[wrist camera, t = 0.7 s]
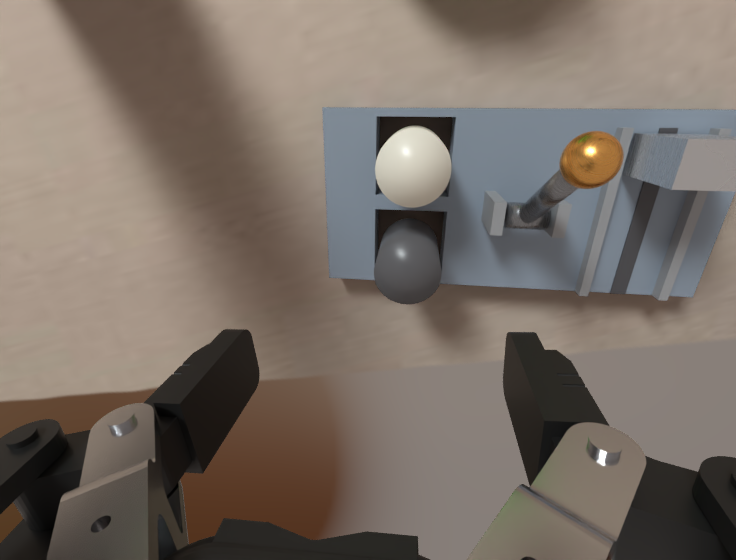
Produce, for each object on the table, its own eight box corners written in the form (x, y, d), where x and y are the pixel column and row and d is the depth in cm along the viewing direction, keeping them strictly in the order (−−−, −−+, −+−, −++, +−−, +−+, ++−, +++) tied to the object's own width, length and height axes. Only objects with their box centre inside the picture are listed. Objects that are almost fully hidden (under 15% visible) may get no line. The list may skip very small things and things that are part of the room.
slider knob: (633, 133, 23) (688, 139, 18) (706, 133, 22) (781, 140, 18) (622, 174, 24) (671, 189, 19) (691, 175, 23) (758, 192, 19)
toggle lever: (502, 201, 24) (571, 119, 14) (541, 203, 24) (639, 120, 14) (501, 235, 24) (570, 176, 14) (540, 237, 24) (639, 178, 14)
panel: (330, 107, 26) (308, 107, 21) (735, 110, 24) (829, 110, 18) (335, 265, 31) (318, 298, 26) (670, 282, 29) (730, 322, 23)
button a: (383, 125, 24) (375, 128, 19) (447, 125, 24) (455, 129, 19) (382, 188, 26) (374, 206, 21) (442, 190, 25) (447, 208, 20)
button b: (381, 217, 26) (374, 240, 22) (439, 219, 26) (444, 243, 21) (380, 269, 28) (373, 302, 23) (434, 272, 28) (438, 306, 23)
